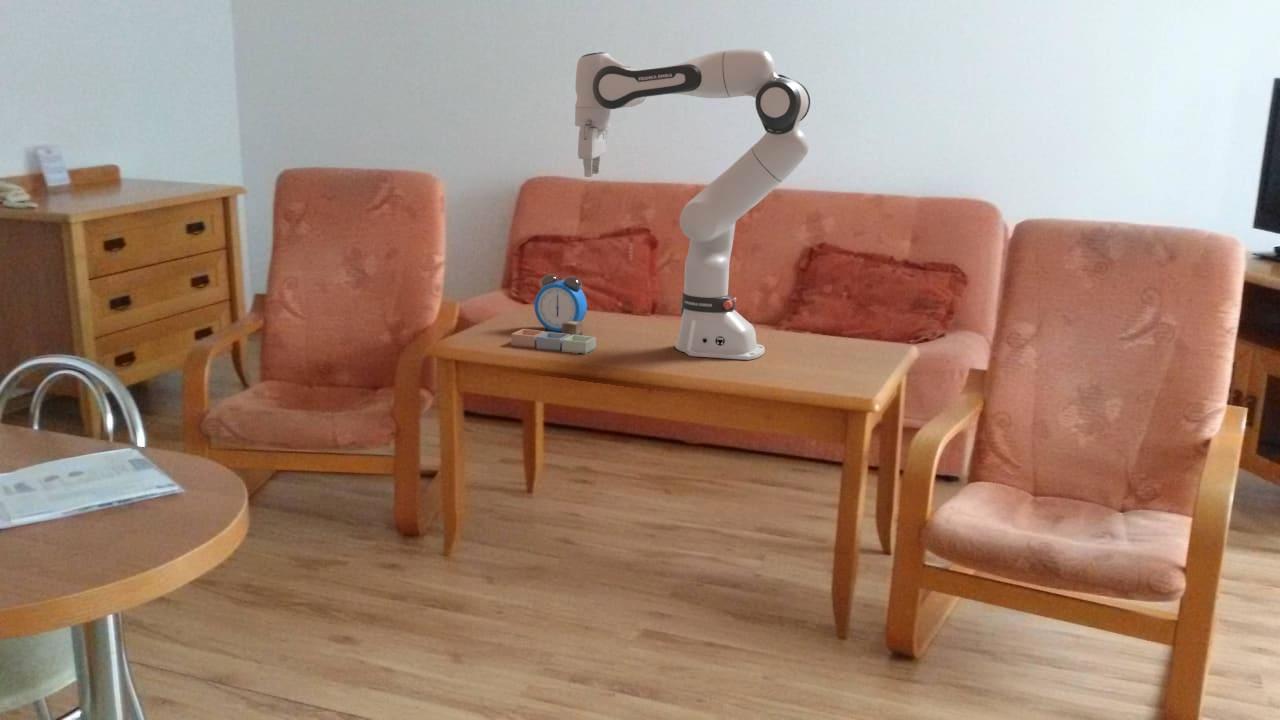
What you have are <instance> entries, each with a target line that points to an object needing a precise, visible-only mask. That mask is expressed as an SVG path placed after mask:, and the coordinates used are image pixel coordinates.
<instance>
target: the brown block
mask: <svg viewBox="0 0 1280 720" xmlns="http://www.w3.org/2000/svg"><path fill="white" fill-rule="evenodd" d="M583 324H584V322H583V321H581V322H579V321H570V320H568V321H566V322H564V323H562V332H561V333H564V334H571V335H581V336H584V334H583V330H584V325H583Z"/></svg>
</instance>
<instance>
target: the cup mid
mask: <svg viewBox="0 0 1280 720" xmlns="http://www.w3.org/2000/svg"><path fill="white" fill-rule="evenodd" d="M569 336H571V334H564V333H562V332H555V331H546V333H544V334H542V335H539V336H537V347H536V349H538V350H547V351H554V352H562V340H563V339H565V338H567V337H569Z"/></svg>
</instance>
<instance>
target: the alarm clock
mask: <svg viewBox="0 0 1280 720" xmlns="http://www.w3.org/2000/svg"><path fill="white" fill-rule="evenodd" d="M563 278H564V277H562V276H559V277H558V276H557V275H556V274H553V273H550V274H545V276H543V277H542V278H541V280H540V286H541V289H540V290H539V291H538V293H537V294H536V296H535V298H534V305H533V306H534V307H533V308H534V313H535V316H536V319H537V320H538V322H539V323H540V324H541V325H542V326H543V327H544V328H545V329H544V331H546V332H547V330H549V331H550V332H555V333H562V323H564V322H566V321H568V320H570V321H579V322H583V320H584V319H585V318H586V315H587V311H588V303H587V298H586V295H585V293H584V292H583V290H582V286H583V283H582V281H581V279H579V278H578V277H577V276H574V275H569V276H567V277H565V278H564V279H563ZM559 279H560V280H559Z"/></svg>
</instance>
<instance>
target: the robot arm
mask: <svg viewBox="0 0 1280 720" xmlns="http://www.w3.org/2000/svg"><path fill="white" fill-rule="evenodd" d="M575 92H576V102H575V106H574V107H575V108H574V109H575V112H574V126H575V127H579V132H578V143H577V144H578V145H577V146H578V148H577V155H578V159H580V160H582V161H583V162H582V163H583V164H582V165H583V169H584V173H583V174H584V175H583V176H584V178H585V177H586V178H591V177H593V175H594V174H595V175H596V174H597V175H598V174H599V173H600V165H601V164H600V163H601V156H603V155H605V154H606V151H607V145H608V144H607V143H608V134H609V133H608V132H609V127H611V110H615V109H620V108H622V109H623V108H632V107H636V106H638V105H640V104H643V102H644V101H645V100H646V99H647V98H648V97H655V96H662V95H684V96H690V97H696V98H697V97H698V98H704V99H705V98H706V99H727V98H728V99H729V98H737V97H744V96H745V97H753V98H755V102H754V103H755V110H756V112H757V114H758V118H759V119H760V121H761V124H762V126H763V128H764V130H765V133H764V135H763V136H762V137H761V138H760V139H759V140H758V141H757V142H756V143H755V144H754V145H752V147H750V148H749V149H748V150H747V151H746V152H745V153H744V154H743V155H741V156H740V157H739V158H738V159H737V160H736V161H735V162H734V163H732V165H731V166H730V167H728V169H726V170H725V171H724V172H723V173H721V174H720V175H719V176H718V177H716V178H715V179H714V180H713V181H712V182H710V183H709V184H708V185H707V186H705V187H704V188H703V189H702V190H701V191H700V192H698V193H697V194H696V195H694V197H693V198H691V199H690V200H689V201H688V202H687V203H686V204H685V206H684V207H683V208H682V210H681V212H680V216H679V227H680V229H681V232H682V234H684V235H685V237H687V238H688V239H689V246H688V250H687V255H686V258H685V261H684V281H683V283H684V286H683V287H684V288H683V289H684V290H683V292H682V295H681V300H680V301H681V302H680V303H681V304H680V307H681V315H682V316H681V323H680V329H679V334H678V339H677V341H676V344H675V349H677V350H678V351H680V352H684V353H685V354H686V355H688V356H689V357H700V358H701V357H702V358H713V359H714V358H715V359H730V360H744V361H747V360H748V361H749V360H754V359H757V358H759V357H761V356H763V355H764V354H765V351H766V349H765V346H764V345H762V344H759V343H757V335H756V330H755V328H754V326H753V324H752V323H750V322H749V321H748V320H747V319H745V317H743V316H742V315H741V314H740V313H739V312H738V311H737V310H735V307H736V302H737V297H732V296H731V295H730V294H729V280H730V276H729V275H730V263H731V255H732V251H733V244H734V236H735V229H736V223H737V221H738V220H739V219H740V218H742V217H743V216H744V215H745V214H747V213H748V212H750V210H751V209H752V208H754V207H755V206H756V205H758V204H759V203H760V202H761V201H762V200H763V199H764V198H766V196H768V195H769V194H770V193H771V192H772V191H774V189H775V188H777V187H778V186H779V185H780V184H781V183H782V182H783V181H785V180H786V179H787V177H789V176H790V175H791V173H793V172H794V171H795V169H796V168H797V167H798V166H799V165H800V164H801V163H802V162H803V160H804V158H805V157H806V156H807V154H808V153H809V152H808V151H809V142H808V139H807V137H806V135H805V133H804V132H803V131H802V130H801V127H800V122H801V121H803V120H804V119H805V117H806V116H807V115H808V113H809V111H810V105H811V98H810V94H809V92H808V90H807V88H806V87H805V86H804V85H803V84H802V83H800V82H799V81H797V80H794V79H792V78H789V77H787V76H785V75H784V74H778V73H777V72H776V64H775V61H774V59H773V56H771V54H770V53H769V52H768V51H767V50H764V49H758V48H735V49H725V50H719V51H715V52H711V53H707V54H704V55H701V56H698V57H696V58H695V57H694V58H692V59H689V60H686V61H684V62H680V63H678V64H674V65H671V66H665V67H656V68H649V69H647V68H646V69H637V68H635V67H631V66H629V65H627V64H624V63H622V62H620V61H619V60H617V59H615V58H613V57H612V56H611V55H610V54H609V53H608V52H606V51H605V52H604V51H603V52H602V51H601V52H591V53H586V54H584V55H582V56H581V57H579V59H578V61H577V65H576V73H575Z"/></svg>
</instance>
